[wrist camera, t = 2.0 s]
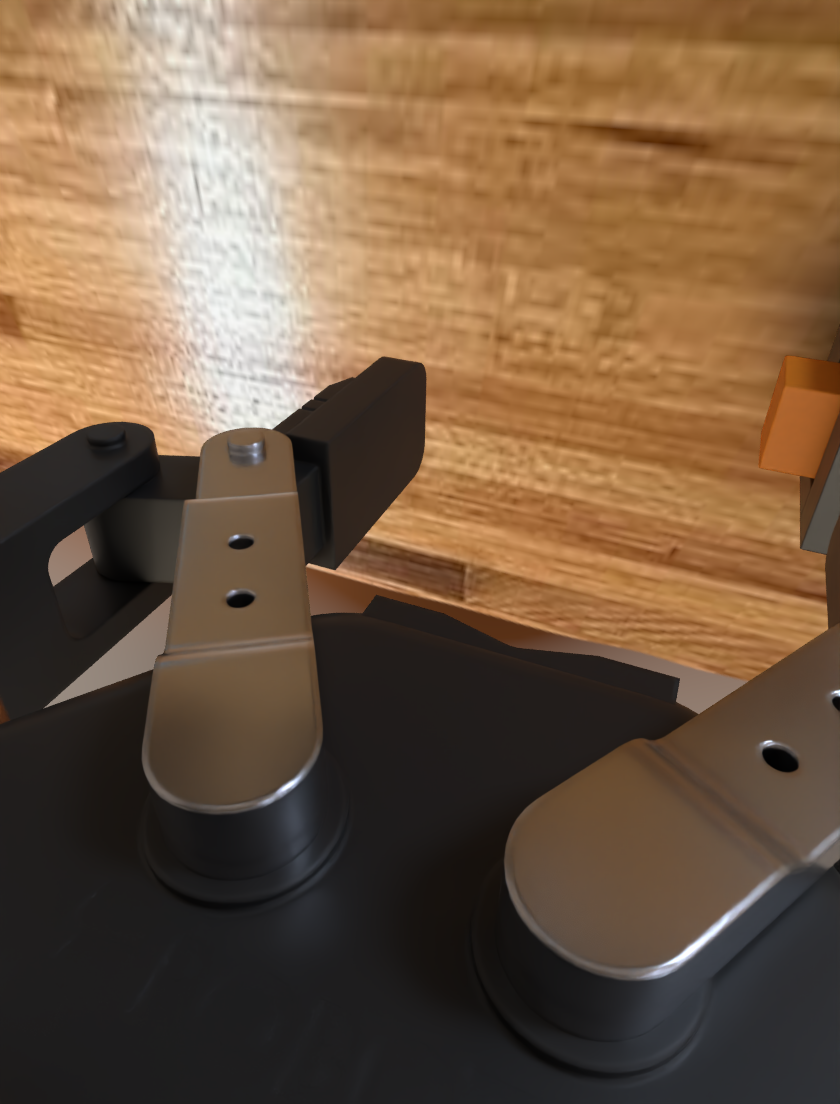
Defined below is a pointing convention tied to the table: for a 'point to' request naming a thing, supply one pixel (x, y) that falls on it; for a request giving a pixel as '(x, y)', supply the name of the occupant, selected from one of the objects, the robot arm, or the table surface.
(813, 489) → the kettle
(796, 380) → the switch
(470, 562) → the table surface
